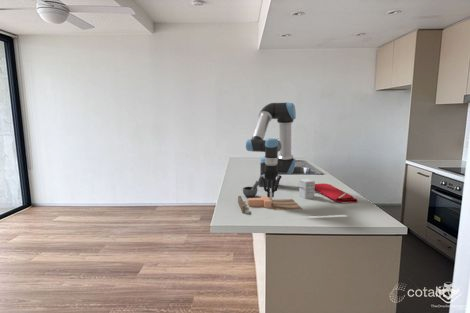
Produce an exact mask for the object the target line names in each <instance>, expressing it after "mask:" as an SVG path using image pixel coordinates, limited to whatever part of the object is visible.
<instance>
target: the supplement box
mask: <svg viewBox="0 0 470 313" xmlns="http://www.w3.org/2000/svg"><path fill="white" fill-rule="evenodd" d="M315 184H316V181H315V180H314V179H313V180H312V179H310V178H303V179H299V189H298V190H299V191H298V192H299V193H298V196H299V197H300V198H303V199H305V200H308V199H314V198H315Z"/></svg>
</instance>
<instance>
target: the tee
mask: <svg viewBox="0 0 470 313" xmlns="http://www.w3.org/2000/svg"><path fill="white" fill-rule="evenodd" d="M247 205H248V207H249V208H250V207H263V208H264V209H270V208H272V206H271V200H270V199H269V198H268V197H267V195H261V196H260V197H254V198H247Z"/></svg>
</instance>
